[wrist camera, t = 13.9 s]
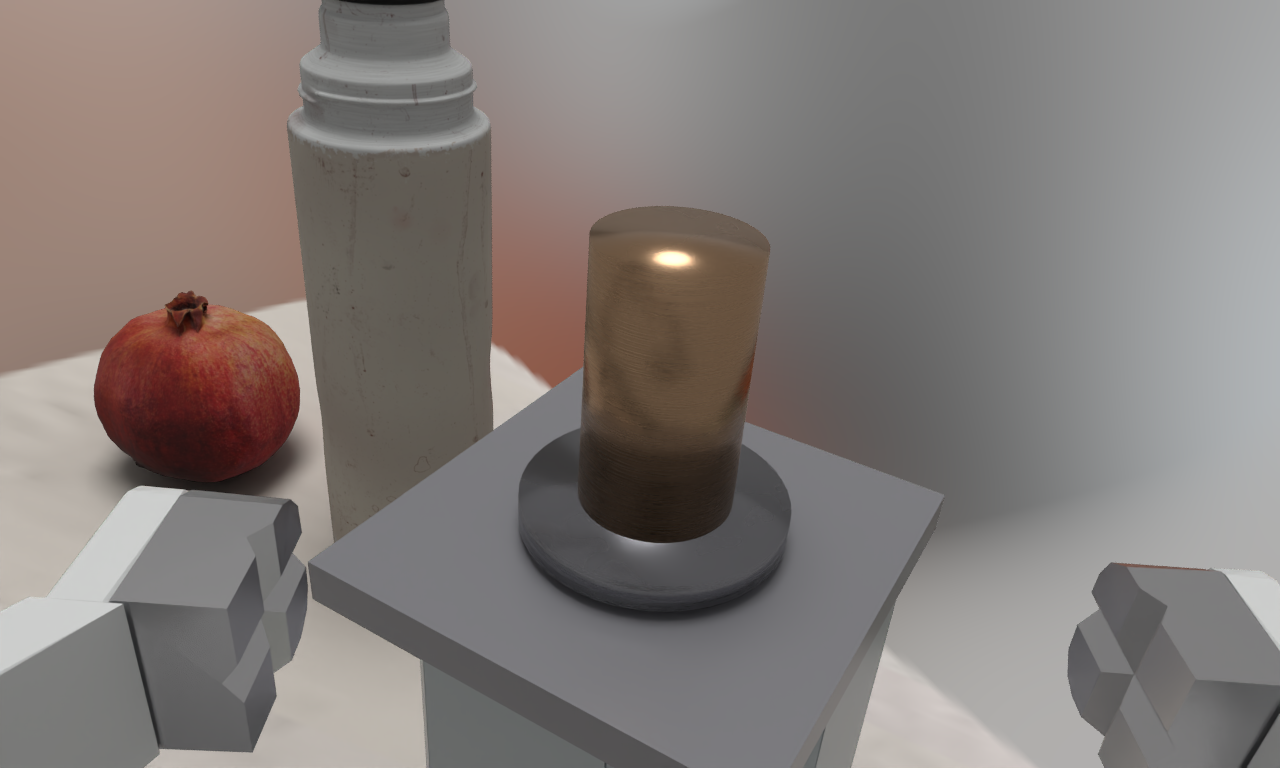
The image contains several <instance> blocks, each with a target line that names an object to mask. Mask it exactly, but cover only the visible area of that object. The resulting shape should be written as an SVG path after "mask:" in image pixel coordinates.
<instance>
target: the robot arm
mask: <svg viewBox="0 0 1280 768" xmlns="http://www.w3.org/2000/svg"><path fill="white" fill-rule="evenodd" d="M301 533H302V531H301V524H300V518H299V512H298V506H297V505H296V504H295V503H294V502H293V501H292V500H291V499H281V498H271V497H261V496H250V495H240V494H230V493H220V492H210V491H200V490H190V491H188V490H183V489H172V488H161V487H150V486H138V487H136V488H134V489H132V490H129V491H128V492H127V493H125V494H124V496H123V497H122V498H121V500H120V501H119V502H118V504H117V505H116V506H115V507H114V509H113V510H112V511H111V513H110V514H109V515H108V517H107V518H106V519H105V521H104V522H103V523H102V524H101V526H100V527H99V528H98V530H97V531H96V532H95V534H94V535H93V536H92V537H91V539H90V540H89V541H88V543H87V544H86V545H85V547H84V548H83V549H82V550H81V552H80V553H79V554H78V556H77V557H76V558H75V560H74V561H73V562H72V564H71V565H70V566H69V567H68V569H67V570H66V571H65V573H64V574H63V575H62V577H61V578H60V579H59V580H58V582H57V583H56V584H55V586H54V587H53V588H52V590H51V591H50V592H49V593H48V595H47V596H46V597H45V598H40V597H27V598H25V599H23V600H22V601H20V602H18V603H16V604H14V605H12V606H10V607H8V608H6V609H4V610H2V611H0V768H144V767H145V766H146V765H147V764H148V763H150V762H151V761H152V760H153V759H154V758H156V757H157V756H158V755H159V754H160V751H159V749H180V750H204V751H229V752H253V750H254V748H255V745H256V743H257V741H258V738H259V736H260V734H261V731H262V729H263V727H264V724H265V722H266V720H267V717H268V715H269V713H270V710H271V708H272V706H273V703H274V701H275V699H276V688H275V681H274V674H273V673H274V672H276V671H277V670H279V669H280V668H282V667H283V666H284V665H286V664H287V663H289V662H290V661H292V658H293V656H294V653H295V651H296V648H297V646H298V643H299V641H300V638H301V634H302V629H303V625H304V620H305V615H306V611H307V593H308V584H307V574H306V567H305V566H304V565H303V564H302V563H301V562H300V561H299V559H298V558H297V557H296V556H295V555H294V554H293V553H292V552H293V550H294V548H295V546H296V544H297V542H298V539H299V537H300V535H301ZM1092 594H1093V596H1094V598H1095V600H1096V603H1097V605H1098V607H1099V610H1098V611H1096V612H1095V613H1093V614H1092V615H1091V616H1089V617H1088V618H1086V619H1085V620H1083V621H1082V622H1081V623H1079V624H1078V625H1077V628H1076V630H1075V633H1074V636H1073V639H1072V641H1071V644H1070V647H1069V651H1068V679H1069V684H1070V689H1071V694H1072V697H1073V699H1074V701H1075V704H1076V706H1077V709H1078V711H1079V713H1080V715H1081V717H1082V718H1083V719H1085V720H1086V721H1087V722H1088V723H1089V724H1090V725H1092V726H1093V727H1094V728H1095V729H1097V730H1098V731H1099V732H1100V733H1101V734H1103V735H1104V736H1105V737H1104V740H1103V742H1102V745H1101V748H1100V750H1099V753H1098V755H1099V757H1100V759H1101V761H1102V764H1103V766H1104V768H1280V585H1279V583H1278V582H1277V581H1276V580H1275V579H1273V578H1272V577H1270V576H1269V575H1267V574H1265V573H1263V572H1262V571H1253V570H1235V569H1217V568H1210V569H1208V570H1206V569H1196V568H1181V567H1168V566H1153V565H1140V564H1126V563H1125V564H1124V563H1110V564H1109V565H1108V566H1107V567H1106V568H1105V569H1104V570H1103V571H1102V572H1101V573H1100V574H1099V576H1098V579H1097V581H1096V583H1095V585H1094V588H1093V590H1092Z"/></svg>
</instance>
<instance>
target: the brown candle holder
mask: <svg viewBox="0 0 1280 768" xmlns="http://www.w3.org/2000/svg"><path fill="white" fill-rule="evenodd" d="M769 255H770V244H769V242H768V240H767V239H766V237H765V236H764V235H763V234H762V233H761V232H759V231H758V230H757V229H755V228H754V227H752V226H750V225H749V224H747V223H745V222H742V221H740V220H738V219H735V218H732V217H729V216H726V215H723V214H719V213H715V212H711V211H706V210H701V209H694V208H686V207H674V206H651V207H638V208H632V209H626V210H622V211H618V212H615V213H612V214H609V215H607V216H605V217H603V218H601V219H599V220H598V221H597V222H596V223H595V224H594V225H593V226H592V228H591V230H590V237H589V258H588V279H587V281H588V282H587V301H586V322H585V343H584V344H585V345H584V365H583V386H582V408H581V428H579V429H576V430H573V431H571V432H568V433H566V434H564V435H562V436H560V437H558V438H556V439H555V440H553V441H552V442H550V443H549V444H547V445H546V446H544V447H543V448H542V449H541V450H540V451H539V452H538V453H536V454H535V456H534V457H533V458H532V459H531V460H530V462H529V463H528V464H527V466H526V468H525V470H524V472H523V474H522V477H521V480H520V483H519V493H518V522H519V531H520V534H521V537H522V540H523V543H524V544H525V546H526V548H527V550H528V552H529V553H530V555H531V556H532V557H533V559H534V560H535V561H536V562H537V564H538V565H539V566H540V567H541V568H543V569H544V570H545V571H546V572H547V573H548V574H549V575H550V576H552V577H553V578H554V579H556V580H557V581H559V582H560V583H561V584H563V585H565V586H566V587H568V588H570V589H572V590H574V591H575V592H577V593H579V594H582V595H584V596H587V597H589V598H591V599H594V600H596V601H600V602H603V603H606V604H609V605H613V606H617V607H622V608H627V609H632V610H640V611H650V612H680V611H692V610H698V609H703V608H709V607H712V606H716V605H719V604H723V603H726V602H729V601H731V600H733V599H736V598H738V597H741V596H743V595H744V594H746V593H748V592H749V591H751V590H753V589H755V588H756V587H757V586H758V585H760V584H761V583H762V582H763V581H765V580H766V579H767V578H768V577H769V576H770V575H771V573H772V572H773V571H774V570H775V569H776V567H777V566H778V564H779V562H780V561H781V559H782V556H783V553H784V551H785V548H786V542H787V537H788V532H789V526H790V520H791V513H792V512H791V501H790V498H789V494H788V491H787V489H786V487H785V485H784V483H783V481H782V479H781V478H780V476H779V475H778V474H777V472H776V471H775V470H774V469H773V468H772V467H771V466H770V465H769V464H768V462H767V461H765V460H764V459H763V458H762V457H761V456H759V455H758V454H757V453H756V452H754V451H753V450H751V449H750V448H748V447H746V446H745V445H743V444H742V438H743V431H744V424H745V417H746V411H747V403H748V397H749V390H750V384H751V377H752V370H753V363H754V356H755V350H756V342H757V336H758V329H759V322H760V315H761V309H762V302H763V295H764V288H765V281H766V275H767V268H768V261H769Z"/></svg>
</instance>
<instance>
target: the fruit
mask: <svg viewBox="0 0 1280 768" xmlns="http://www.w3.org/2000/svg"><path fill="white" fill-rule="evenodd" d="M94 401H95V407H96V411H97V415H98V417H99V419H100V421H101V423H102V424H103V427H104V429H105V431H106V433H107V435H108V436H109V438H110V439H111V440H112V441H113V442H114V443H115V444H116V445H117V446H118V447H119V448H120V449H121V450H122V451H124V452H125V453H126V454H128V455H129V456H131V457H132V458H133V459H134V461H136V465H138V466H139V467H143V468H146V469H148V470H150V471H152V472H155V473H158V474H161V475H163V476H169V477H174V478H180V479H186V480H190V481H196V482H218V481H222V480H225V479H228V478H231V477H234V476H237V475H240V474H242V473H245V472H247V471H250V470H252V469H254V468H256V467H258V466H260V465H261V464H263V463H264V462H265V461H267V460H268V459H269V458H270V457H271V456H272V455H273V454H274V453H275V452H276V451H277V450H278V449H279V448H280V447H281V446H282V445H283V443H284V442H285V441H286V439H287V438H288V436H289V434H290V432H291V431H292V429H293V426H294V424H295V421H296V419H297V417H298V412H299V406H300V387H299V380H298V375H297V372H296V370H295V367H294V364H293V362H292V359H291V357H290V356H289V354H288V352H287V350H286V348H285V346H284V344H283V342H282V341H281V340H280V338H279V337H278V336H277V334H276V333H275V332H274V331H273V330H272V329H271V328H270V327H269V326H268V325H267V324H265V323H264V322H262V321H260V320H259V319H257V318H255V317H252V316H249V315H246V314H243V313H241V312H239V311H236V310H234V309H231V308H227V307H224V306H220V305H208V301H207V299H206V298H205V297H202V296H196V295H194V293H193V291H189V292H188V293H183V292H181V293H179V294H178V296H177V297H176V298H174V299H173V301H172V302H170V303H168V304H166V305H165V308H164V309H161V310H157V311H155V312H152V313H148V314H145V315H142V316H138V317H136V318H134V319H132V320H131V321H129V322H128V323H127V324H126V325H125V326H124V327H123V328H122V329H121V330H120V331H119V332H118V333H117V334H116V335H115V336H114V337H112V338H111V340H110V341H109V343H108V344H107V346H106V347H105V349H104V351H103V353H102V355H101V358H100V362H99V365H98V370H97V374H96V380H95V384H94Z"/></svg>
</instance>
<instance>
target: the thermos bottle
mask: <svg viewBox="0 0 1280 768" xmlns="http://www.w3.org/2000/svg"><path fill="white" fill-rule="evenodd" d="M319 26H320V37H321V44H320V45H318V46H317V47H316V48H314V49H313V50H312V51H310V52H309V53H308V54H306V55H305V56H303V57H302V59H301V61H300V74H301V83H300V84H299V87H298V92H299V95H300V97H302V98H303V106H302V107H300V108H298V109H296V110H295V111H294V112H293V113H292V114H291V115H290V116H289V118H288V121H287V131H288V140H289V148H290V157H291V166H292V175H293V183H294V193H295V201H296V210H297V219H298V228H299V237H300V245H301V254H302V263H303V271H304V280H305V289H306V299H307V307H308V316H309V325H310V334H311V343H312V352H313V360H314V369H315V377H316V384H317V391H318V397H319V402H320V409H321V416H322V426H323V440H324V455H325V466H326V475H327V484H328V493H329V502H330V511H331V519H332V528H333V537H334V543H335V542H337V541H338V540H339V539H341V538H342V537H344V536H345V535H346V534H348V533H349V532H351V531H352V530H354V529H355V528H356V527H358V526H359V525H361V524H362V523H363V522H365V521H366V520H368V519H369V518H370V517H372V516H373V515H375V514H376V513H378V512H379V511H380V510H382V509H383V508H385V507H386V506H387V505H389V504H390V503H392V502H393V501H394V500H396V499H397V498H399V497H400V496H402V495H403V494H404V493H406V492H407V491H409V490H410V489H411V488H413V487H414V486H416V485H417V484H418V483H420V482H421V481H423V480H424V479H426V478H427V477H428V476H430V475H431V474H433V473H434V472H435V471H437V470H438V469H440V468H441V467H442V466H444V465H445V464H447V463H448V462H450V461H451V460H452V459H454V458H455V457H457V456H458V455H459V454H461V453H462V452H464V451H465V450H466V449H468V448H469V447H471V446H472V445H474V444H475V443H476V442H478V441H479V440H481V439H482V438H483V437H485V436H486V435H488V434H489V433H490V432H492V431H493V401H492V391H491V378H490V350H491V337H492V206H491V205H492V200H491V199H492V195H491V194H492V192H491V125H490V121H489V118H488V117H487V116H486V115H485V114H484V112H482V111H480V110H479V109H477V108H475V107H473V92H474V91H475V90H476V88H477V84H476V81H475V80H474V79H473V72H472V71H473V70H472V64H471V62H470V61H469V60H468V59H467V58H466V57H465V56H463V55H462V54H460V53H459V52H458V51H456V50H455V49H453V48H452V47H451V46H450V35H449V34H450V32H449V15H448V12H447V10H446V8H445V6H444V0H322V5H321V6H320V9H319Z"/></svg>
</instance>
